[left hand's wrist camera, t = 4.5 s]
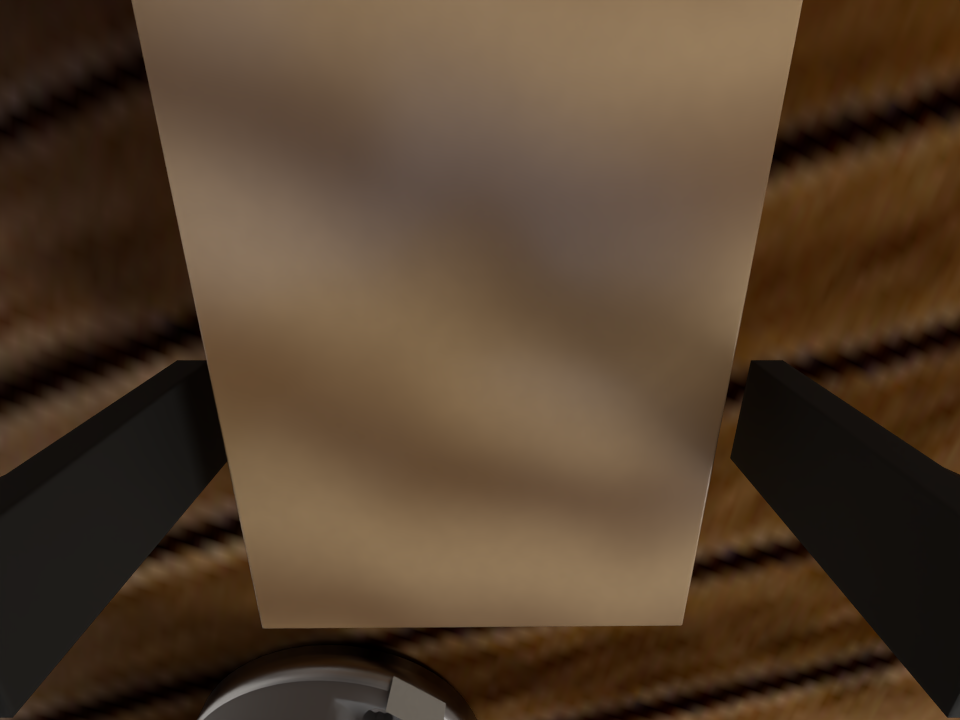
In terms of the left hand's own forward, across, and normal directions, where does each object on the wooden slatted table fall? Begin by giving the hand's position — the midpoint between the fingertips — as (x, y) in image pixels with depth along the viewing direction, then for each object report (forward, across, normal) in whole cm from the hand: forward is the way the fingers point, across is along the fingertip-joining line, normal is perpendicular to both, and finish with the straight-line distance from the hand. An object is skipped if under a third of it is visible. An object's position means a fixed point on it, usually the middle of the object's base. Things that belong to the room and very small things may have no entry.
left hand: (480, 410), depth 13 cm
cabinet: (+7, 0, -6) cm, 9 cm away
